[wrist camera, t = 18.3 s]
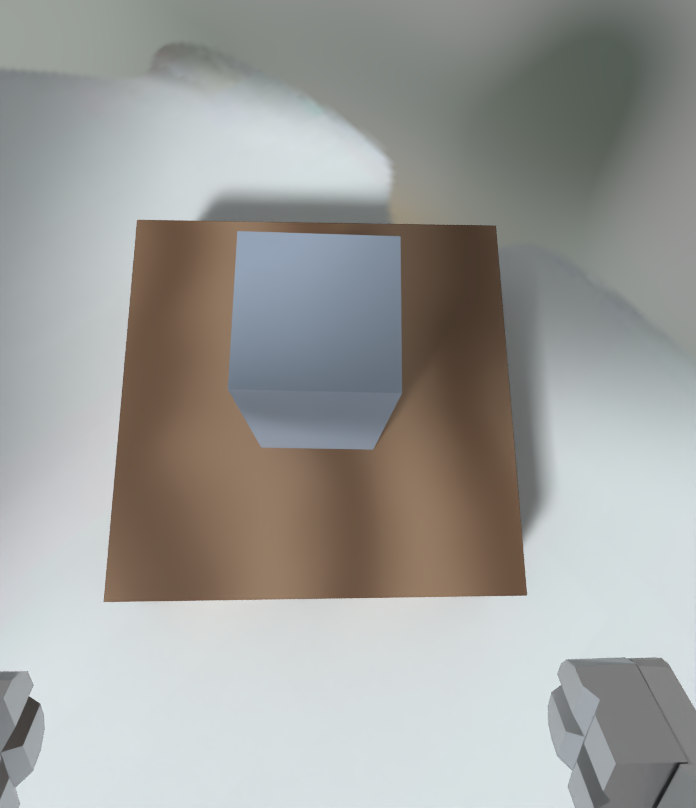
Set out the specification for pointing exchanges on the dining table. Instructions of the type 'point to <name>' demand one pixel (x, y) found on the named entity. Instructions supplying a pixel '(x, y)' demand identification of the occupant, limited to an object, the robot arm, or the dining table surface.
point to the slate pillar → (316, 337)
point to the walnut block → (304, 467)
